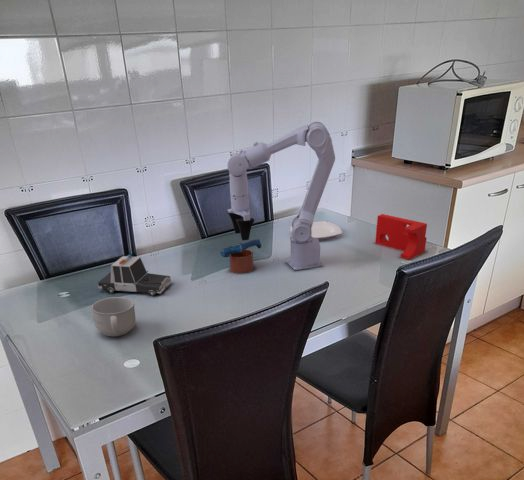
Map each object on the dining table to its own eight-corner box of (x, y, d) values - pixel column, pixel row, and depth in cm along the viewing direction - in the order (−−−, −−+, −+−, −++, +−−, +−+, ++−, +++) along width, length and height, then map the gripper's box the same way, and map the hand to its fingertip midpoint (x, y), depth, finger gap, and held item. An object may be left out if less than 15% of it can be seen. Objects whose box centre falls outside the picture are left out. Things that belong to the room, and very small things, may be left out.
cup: (249, 263, 172) (248, 247, 170) (256, 271, 166) (255, 255, 163) (227, 266, 170) (226, 251, 168) (234, 274, 164) (232, 258, 161)
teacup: (101, 322, 138) (95, 296, 134) (141, 320, 139) (136, 293, 135) (91, 348, 127) (84, 320, 122) (134, 345, 127) (129, 317, 123)
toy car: (160, 297, 151) (155, 265, 146) (98, 293, 156) (91, 262, 150) (172, 283, 160) (168, 253, 155) (113, 280, 164) (107, 251, 159)
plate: (284, 229, 202) (284, 224, 201) (330, 224, 205) (330, 219, 204) (299, 244, 186) (299, 239, 185) (348, 239, 189) (348, 233, 188)
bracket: (428, 222, 170) (412, 230, 164) (424, 251, 176) (408, 259, 170) (383, 213, 182) (367, 219, 176) (381, 240, 187) (365, 247, 181)
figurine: (256, 248, 171) (219, 260, 164) (254, 237, 170) (216, 249, 163) (264, 247, 167) (226, 260, 160) (261, 236, 166) (223, 248, 159)
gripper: (221, 190, 163) (224, 231, 170) (233, 201, 151) (236, 244, 158) (241, 188, 165) (244, 228, 172) (255, 198, 153) (257, 241, 160)
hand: (241, 236), depth 165 cm, fingers open, 7 cm apart
